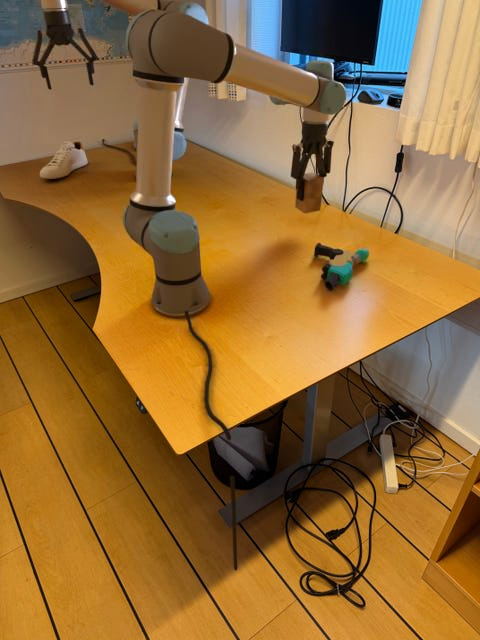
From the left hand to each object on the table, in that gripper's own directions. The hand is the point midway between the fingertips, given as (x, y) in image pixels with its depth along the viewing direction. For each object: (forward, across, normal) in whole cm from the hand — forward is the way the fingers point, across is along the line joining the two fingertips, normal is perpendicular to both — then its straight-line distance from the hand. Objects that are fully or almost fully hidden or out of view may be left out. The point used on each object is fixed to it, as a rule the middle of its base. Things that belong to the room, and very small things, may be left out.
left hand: (71, 86), depth 157 cm
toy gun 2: (+41, -49, +84) cm, 105 cm away
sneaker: (+41, +3, -43) cm, 59 cm away
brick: (+32, -57, +59) cm, 88 cm away
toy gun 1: (+41, -43, -59) cm, 84 cm away
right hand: (+29, -57, +59) cm, 87 cm away
